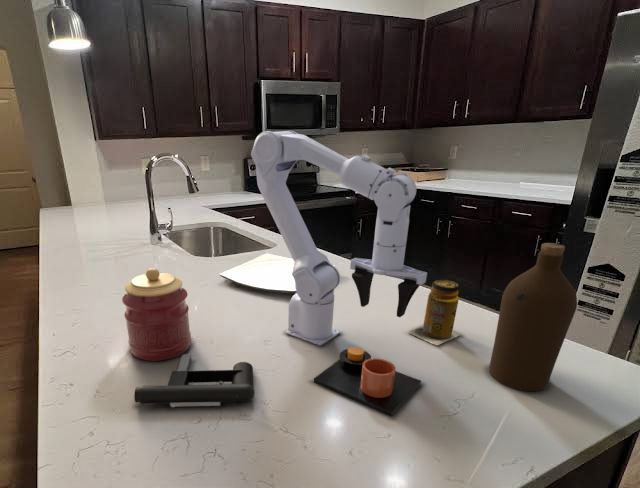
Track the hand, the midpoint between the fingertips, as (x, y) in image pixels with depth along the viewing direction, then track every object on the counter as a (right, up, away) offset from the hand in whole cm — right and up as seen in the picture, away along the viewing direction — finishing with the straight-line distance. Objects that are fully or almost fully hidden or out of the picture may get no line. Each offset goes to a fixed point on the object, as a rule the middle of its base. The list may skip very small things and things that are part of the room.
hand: (382, 310), depth 83 cm
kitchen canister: (-45, -8, +7) cm, 47 cm away
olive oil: (+23, -12, -6) cm, 27 cm away
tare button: (-6, -9, -3) cm, 11 cm away
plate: (-18, +9, +46) cm, 50 cm away
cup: (-4, -14, -10) cm, 17 cm away
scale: (-5, -13, -7) cm, 16 cm away
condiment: (+15, -6, +10) cm, 19 cm away
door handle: (-35, -14, -6) cm, 38 cm away
